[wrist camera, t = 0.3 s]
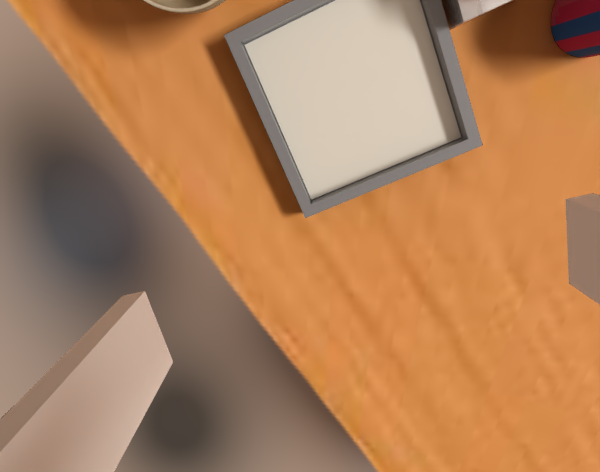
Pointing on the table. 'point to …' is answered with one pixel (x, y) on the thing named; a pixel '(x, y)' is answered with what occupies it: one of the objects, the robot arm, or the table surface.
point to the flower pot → (185, 5)
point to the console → (468, 10)
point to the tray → (355, 93)
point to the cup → (577, 26)
